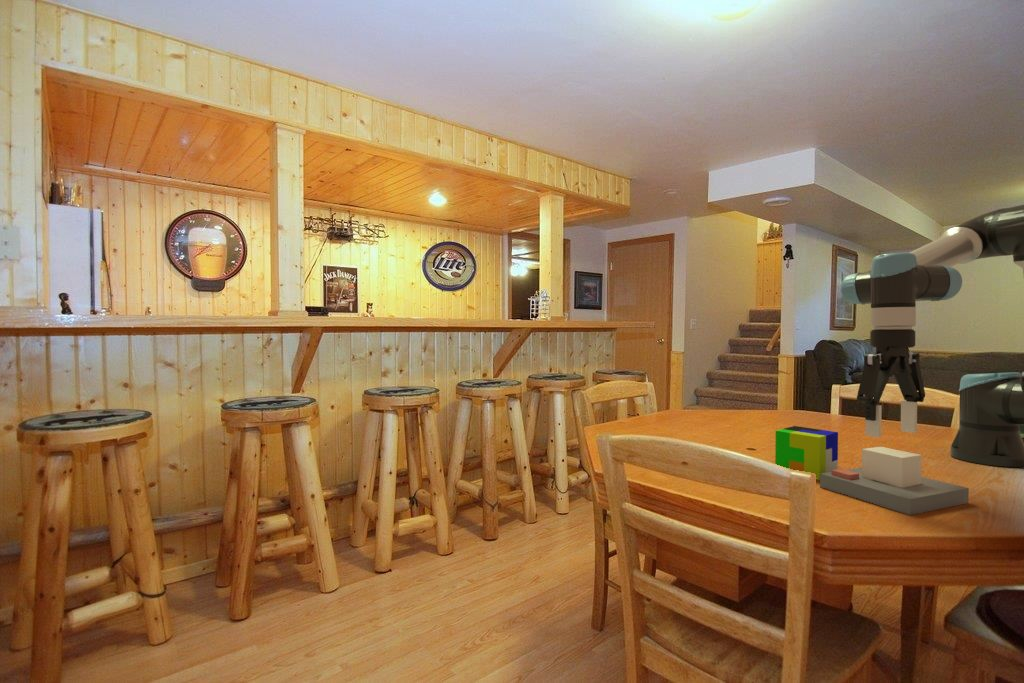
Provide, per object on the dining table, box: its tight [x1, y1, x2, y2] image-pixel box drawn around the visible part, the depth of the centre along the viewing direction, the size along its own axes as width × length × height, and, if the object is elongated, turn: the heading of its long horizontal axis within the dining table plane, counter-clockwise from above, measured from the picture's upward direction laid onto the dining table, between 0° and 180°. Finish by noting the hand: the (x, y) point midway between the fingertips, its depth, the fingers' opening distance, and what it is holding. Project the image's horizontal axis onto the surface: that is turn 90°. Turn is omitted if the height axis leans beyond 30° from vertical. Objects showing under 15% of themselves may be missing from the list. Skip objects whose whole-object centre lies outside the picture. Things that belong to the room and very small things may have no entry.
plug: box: [861, 446, 922, 488], centre depth 105 cm, size 6×8×9 cm
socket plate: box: [819, 466, 970, 516], centre depth 105 cm, size 18×18×4 cm
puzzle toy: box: [774, 425, 839, 481], centre depth 122 cm, size 10×10×10 cm
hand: (891, 434), depth 105 cm, fingers open, 10 cm apart
